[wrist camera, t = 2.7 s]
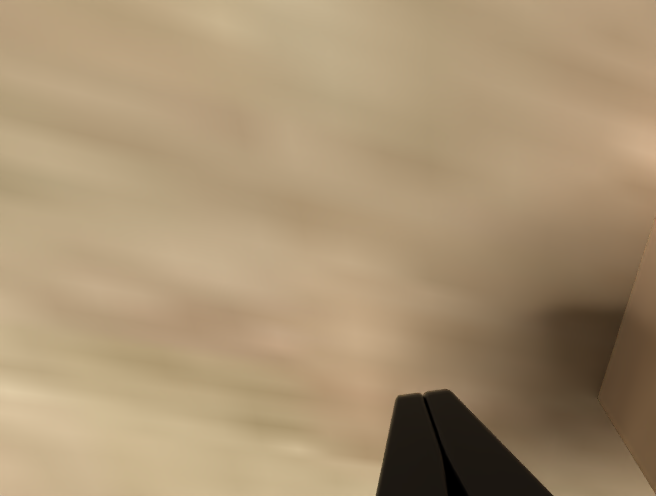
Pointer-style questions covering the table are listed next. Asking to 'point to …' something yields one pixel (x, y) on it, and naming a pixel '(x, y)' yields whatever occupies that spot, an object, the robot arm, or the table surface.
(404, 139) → the table surface
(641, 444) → the walnut block
